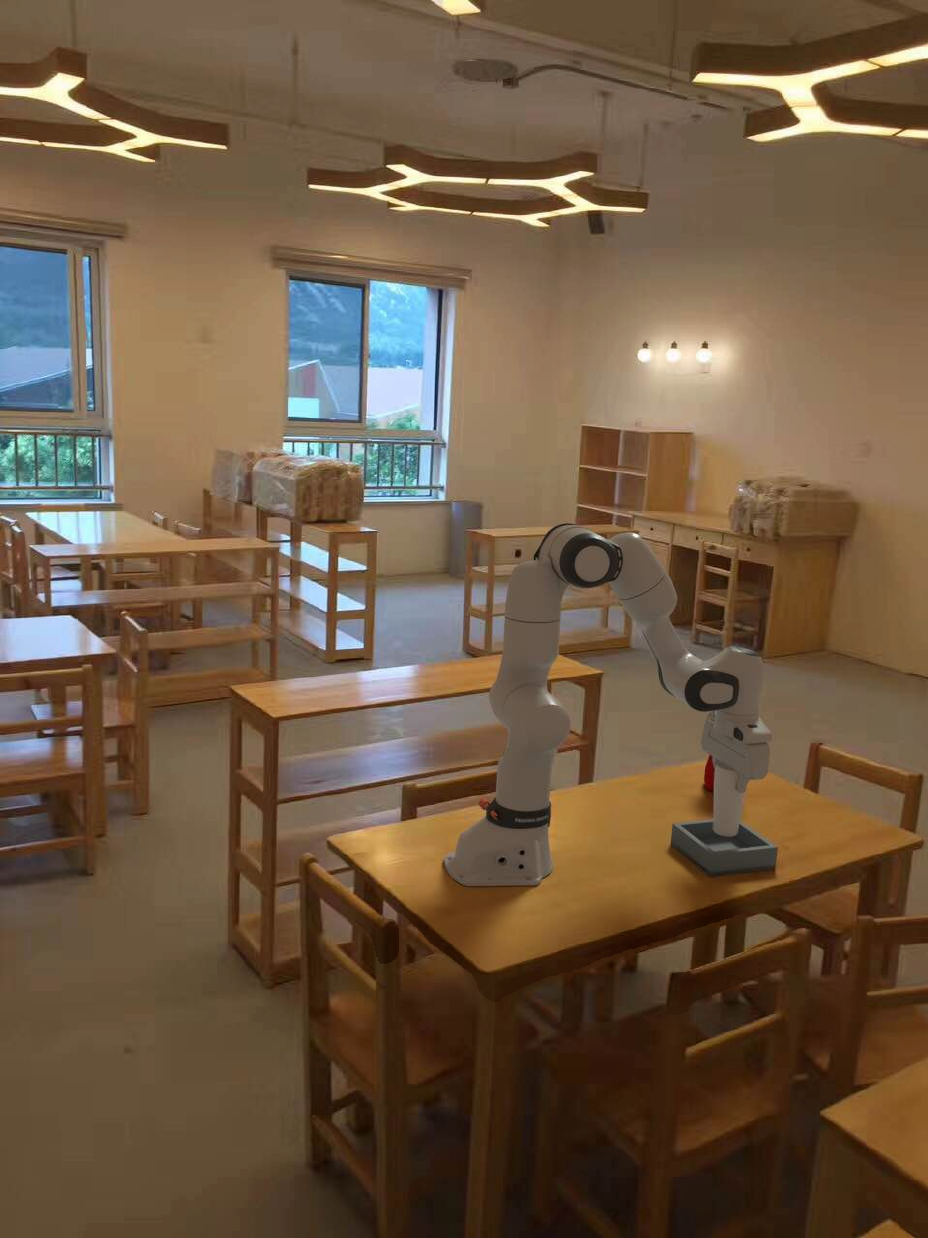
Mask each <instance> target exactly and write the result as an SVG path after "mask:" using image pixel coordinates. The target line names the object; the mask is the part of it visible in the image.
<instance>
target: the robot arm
mask: <svg viewBox="0 0 928 1238" xmlns="http://www.w3.org/2000/svg"><path fill="white" fill-rule="evenodd" d="M607 583H608V585H609V586H610V588H611V590H612V591H613V594H614V595H615V597H616V598H617V600H618V601H619V604H620V605H621V606H622V608H623V609H624V611H625V612H626V614H627V615H628V616H629V617H630V618H631V620H632V621H633V622H634V623H635V624H636V625H637V626H638V627H639V629H640V631H641V632H642V635H643V637H644V638H645V640H646V642H647V644H648V646H649V647H650V649H651V651H652V653H653V655H654V657H655V660H656V664H657V673H658V678H659V680H658V681H659V683H660V685H661V687H662V689H664V691H665V692H666V693H668V694H669V695H671V696H673V697H675V698H676V699H678V700H679V701H681V702H682V703H684V704H685V705H687V706H688V707H689V708H692V710H694V711H697V712H702V713H703V712H704V713H706V712H707V713H708V712H709V713H708V714H707V717H706V720H707V721H706V720H705V722H704V724H703V727H702V731H703V732H701V738H700V748H701V750H702V751H703V752H705V753H707V754H708V755H711V756H713V757H712V761H713V765H714V769H716V764H717V763H719V762H723V763H724V764H726V765H727V766H729V767H731V768H732V769H734V770H735V771H737V772H739V777H740V780H739V782H738V783H736V786H735V790H736V791H738V792H739V793H744V792H746V791H747V787H746V786H748V784H749V782H750V781H757V780H760V781H761V780H764V779H765V778H766V777H767V775H768V773H769V767H770V757H771V751H770V750H771V749H770V746H769V744H768V743H771V742H772V740H773V733H772V731H771V730H770V729H769V728H768V727H767V726H766V725H765V723H764V722H763V720H762V718H761V717H760V705H759V699H760V696H761V695H762V691H763V679H764V678H763V677H764V676H763V675H764V672H763V671H764V669H763V666H764V665H763V659H762V657H761V656H760V655H759V654H758V653H757V652H755V651H753V650H751V649H748V648H747V647H746V648H745V647H742V646H738V645H737V646H736V645H728V646H726V647H725V648H724V649H723V650H722V651H721V652H720V653H718V654H716V655H714V656H713V657H711V658H709V659H706V660H702V659H701V658H700V657H698V656H697V655H696V654H695V653H693V652H691V651H690V650H688V649H687V648H686V647H685V646H684V645H683V643H682V641H681V639H680V637H679V635H678V633H677V632H676V629H675V626H674V625H673V624H672V622H671V619H670V615H671V614H672V613H674V610H675V609H676V606H677V602H678V596H677V595H678V594H677V592H676V589H675V586H674V584H673V581H672V579H671V577H670V575H669V574H668V571H667V570H666V568H665V566H664V565H663V563H662V561H661V560H660V558H658V556H657V555H656V552H654V550H653V549H652V548H651V547H650V546H649V544H648V543H647V542H646V541H645V540H644V538H643V537H641V536H640V535H639V534H637V533H635V532H631V531H629V532H628V531H627V532H622V533H618V534H616V535H614V536H612V537H611V538H609V539H606V538H605V537H604V536H601V535H599V534H597V533H596V532H594V531H593V530H591V528H590V529H589V528H588V527H584V526H582V525H579V524H575V523H566V522H565V523H561V524H557V525H555V526H553V527H552V528H550V529H549V530H548V531H547V532H546V534H545V535H544V537H543V539H542V541H541V543H540V545H539V547H538V548H537V549H536V551H535V553H534V555H533V560H526V561H523V562H520V563H519V564H517V565H516V566H515V567H514V568H513V569H512V571H511V574H510V577H509V581H508V584H507V585H508V586H507V591H506V598H505V605H504V607H505V608H504V624H503V625H504V626H503V643H502V652H501V653H502V654H501V655H502V656H501V660H500V664H499V667H498V672H497V675H496V680H495V681H494V682H493V684H492V685H491V687H490V690H489V693H488V701H489V704H490V708H491V710H492V713H493V715H494V717H495V718H496V719H497V721H499V723H501V725H503V726H504V727H505V728H506V730H507V736H508V737H507V744H506V748H505V751H504V753H503V756H502V757H501V758H500V759H499V760H498V762H497V768H496V782H495V784H496V785H495V786H496V787H495V797H494V798H493V800H492V801H491V802H490V801H489V800H488V799H487V798H485V797H482V798H480V799H479V800H478V806H479V807H480V808H481V809H482V810H483V811H486V812H485V816H484V817H482V818H481V819H480V820H478V821H477V822H475V823H474V824H472V826H470V827H469V828H466V829H465V830H464V831H462V832H461V833H460V834H459V837H458V840H457V843H456V846H455V851H450V852H447V853H446V854H445V857H444V861H443V863H444V864H443V865H444V868H445V870H446V872H447V873H448V875H450V877H451V878H452V879H453V880H455V881H456V882H458V883H459V884H461V885H463V886H465V887H495V886H496V887H499V886H500V887H502V886H511V887H512V886H537V885H540V884H541V882H542V880H543V878H545V877H547V876H548V875H549V874H550V873H552V871H553V868H554V865H553V860H552V856H551V851H550V850H551V849H550V840H549V839H550V837H549V828H550V825H551V818H552V803H551V801H550V798H551V782H552V772H553V766H554V762H555V758H556V756H557V753H558V750H559V747H560V746H561V745H562V744H564V742H565V741H566V740H567V738H568V736H569V735H570V731H571V719H570V718H571V717H570V715H569V713H568V712H567V710H566V708H565V706H564V705H563V703H562V702H561V700H559V699H558V698H557V697H556V696H555V695H553V694H552V693H551V692H549V690H548V678H549V676H550V673H551V668H552V665H554V663H555V662H556V661H557V660H558V658H559V654H560V635H561V634H560V632H561V619H562V618H561V616H562V600H563V597H564V594H565V592H566V590H567V588H568V587H569V586H570V585H571V586H573V587H576V588H580V589H592V588H596V587H599V586H602V585H603V584H607ZM714 710H716V711H714ZM714 776H715V772H714Z"/></svg>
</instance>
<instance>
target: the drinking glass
mask: <svg viewBox="0 0 928 1238" xmlns="http://www.w3.org/2000/svg"><path fill="white" fill-rule="evenodd" d="M739 780H740V777H739V772H737V771H735V770H734V769H732V768H731V767H729V766H727V765H726V764H724V763H723V762H719V763H717V764H716V769H715V777H714V792H713V818H712V819H713V831H714V832H715V833H716V834H718V835H721V836H726V837H732V836H735V835H737V834H738V830H739V822H740V821H741V817H742V812H743V806H744V801H745V796H746V792H744V793H739V792H738V791H736V790H735V786H736V783H738V782H739ZM747 786H748V785H747ZM747 786H746V788H747Z"/></svg>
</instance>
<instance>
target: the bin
mask: <svg viewBox="0 0 928 1238" xmlns="http://www.w3.org/2000/svg"><path fill="white" fill-rule="evenodd" d="M670 846H672V847H673V848H674V849H675V850H676V851H678V852H679V853H680V854H682V856H684V857H685V858H686V859H688V861H690V862H691V863H692V864H694V865H695V867H697V868H698V869H699V870H701V871H702V872H703V873H704V874H706V875H707V876H708V877H710V878H712V877H713V878H714V877H720V876H728V875H730V876H731V875H737V874H747V873H754V872H755V873H756V872H761V871H762V872H763V871H772V870H776V869H777V861H778V860H777V859H778V850H779V847H778V846H777V845H775V843H773V842H772V841H770V840H769V839H767V838H766V837H765V836H762V835H761V834H760V833H758V832H757V831H755V829H753V828H751V827H750V826H748V825H747V824H745V822H743V821H741V820H740V822H739V830H738V834H737V835H735V836H732V837H726V836H721V835H718V834H716V833H715V832H714V831H713V818H712V819H705V820H704V819H703V820H694V821H685V822H683V821H682V822H675V823H674V822H673V823H672V825H671V836H670ZM771 869H772V870H771Z"/></svg>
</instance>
